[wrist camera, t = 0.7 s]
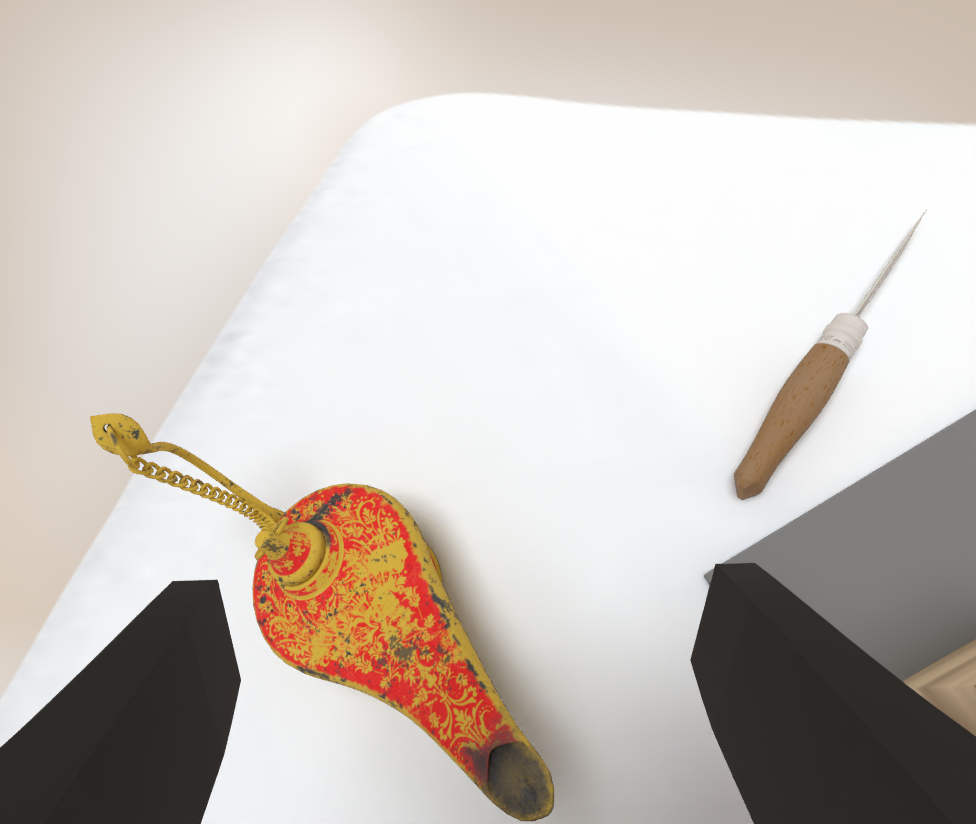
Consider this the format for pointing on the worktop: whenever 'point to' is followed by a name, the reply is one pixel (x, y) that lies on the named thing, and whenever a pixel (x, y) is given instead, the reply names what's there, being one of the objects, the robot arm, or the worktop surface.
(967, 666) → the maple block
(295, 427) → the worktop surface
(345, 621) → the magic lamp
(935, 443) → the rubber mat
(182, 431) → the worktop surface
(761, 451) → the folding knife
